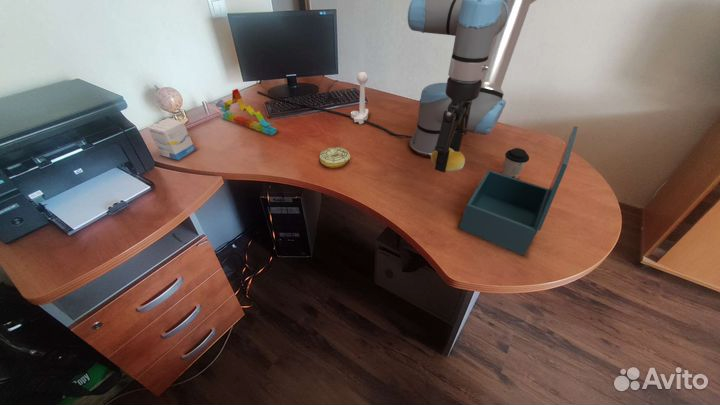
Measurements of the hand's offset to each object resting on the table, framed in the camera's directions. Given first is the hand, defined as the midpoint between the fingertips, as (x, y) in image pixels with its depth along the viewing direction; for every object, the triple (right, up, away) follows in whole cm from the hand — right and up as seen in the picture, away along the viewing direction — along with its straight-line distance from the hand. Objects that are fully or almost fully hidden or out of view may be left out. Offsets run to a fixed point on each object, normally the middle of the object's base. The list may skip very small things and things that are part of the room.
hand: (446, 162), depth 81 cm
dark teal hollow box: (+15, -16, +2) cm, 22 cm away
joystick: (-24, +27, +51) cm, 63 cm away
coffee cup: (+25, -3, +17) cm, 30 cm away
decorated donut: (-33, +3, +25) cm, 41 cm away
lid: (+21, -5, -13) cm, 25 cm away
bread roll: (0, 0, 0) cm, 0 cm away
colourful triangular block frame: (-72, +23, +47) cm, 89 cm away
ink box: (-92, +8, +30) cm, 98 cm away
